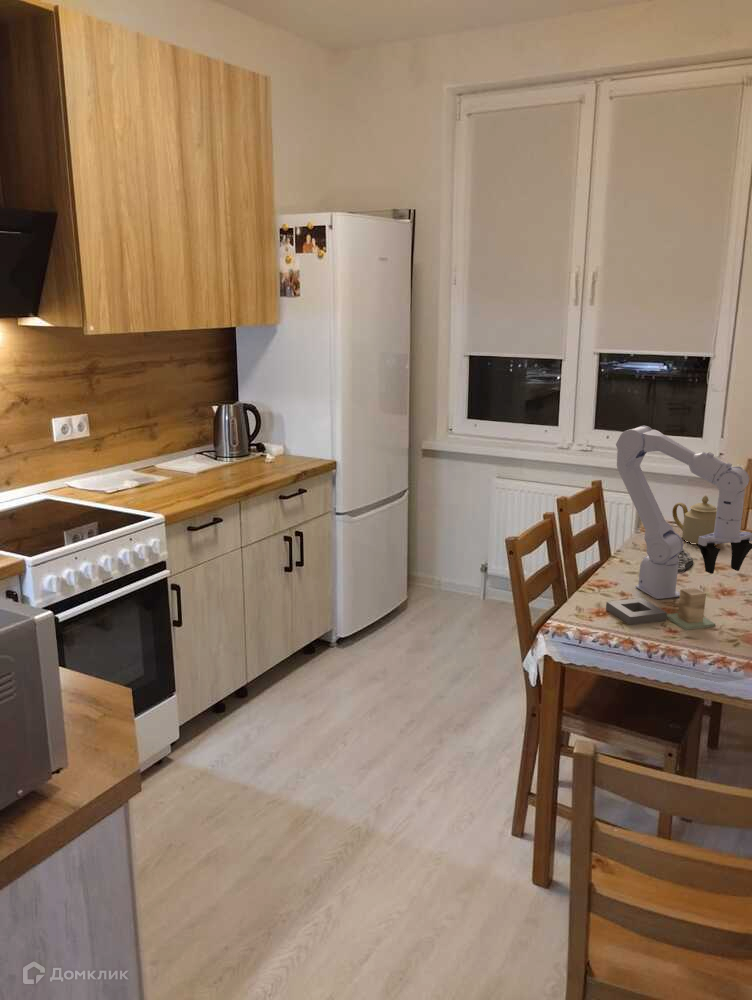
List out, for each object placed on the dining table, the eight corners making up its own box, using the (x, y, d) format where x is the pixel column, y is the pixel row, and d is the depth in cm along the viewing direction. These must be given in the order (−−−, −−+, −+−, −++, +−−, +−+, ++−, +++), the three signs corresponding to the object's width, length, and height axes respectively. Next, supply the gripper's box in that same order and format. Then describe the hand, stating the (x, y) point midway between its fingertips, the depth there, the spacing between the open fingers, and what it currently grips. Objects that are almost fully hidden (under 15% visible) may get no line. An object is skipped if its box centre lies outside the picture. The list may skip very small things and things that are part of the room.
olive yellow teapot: (667, 541, 247) (672, 495, 243) (670, 532, 256) (675, 488, 253) (718, 547, 241) (724, 500, 237) (719, 538, 250) (724, 493, 247)
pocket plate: (605, 609, 191) (606, 601, 191) (641, 605, 194) (641, 597, 193) (629, 624, 182) (630, 617, 181) (666, 620, 185) (666, 612, 184)
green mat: (664, 616, 187) (664, 614, 187) (692, 613, 189) (692, 611, 189) (686, 629, 179) (686, 627, 179) (715, 626, 182) (715, 623, 181)
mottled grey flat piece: (660, 541, 244) (694, 543, 240) (660, 546, 244) (694, 548, 240) (653, 569, 219) (691, 572, 215) (653, 574, 219) (691, 577, 215)
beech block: (677, 616, 185) (680, 589, 183) (691, 615, 186) (694, 587, 185) (688, 623, 181) (691, 595, 180) (702, 621, 183) (706, 593, 181)
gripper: (714, 524, 182) (708, 578, 185) (765, 519, 186) (758, 573, 189) (694, 516, 189) (689, 569, 192) (744, 512, 193) (737, 564, 196)
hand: (722, 570), depth 191 cm, fingers open, 7 cm apart
